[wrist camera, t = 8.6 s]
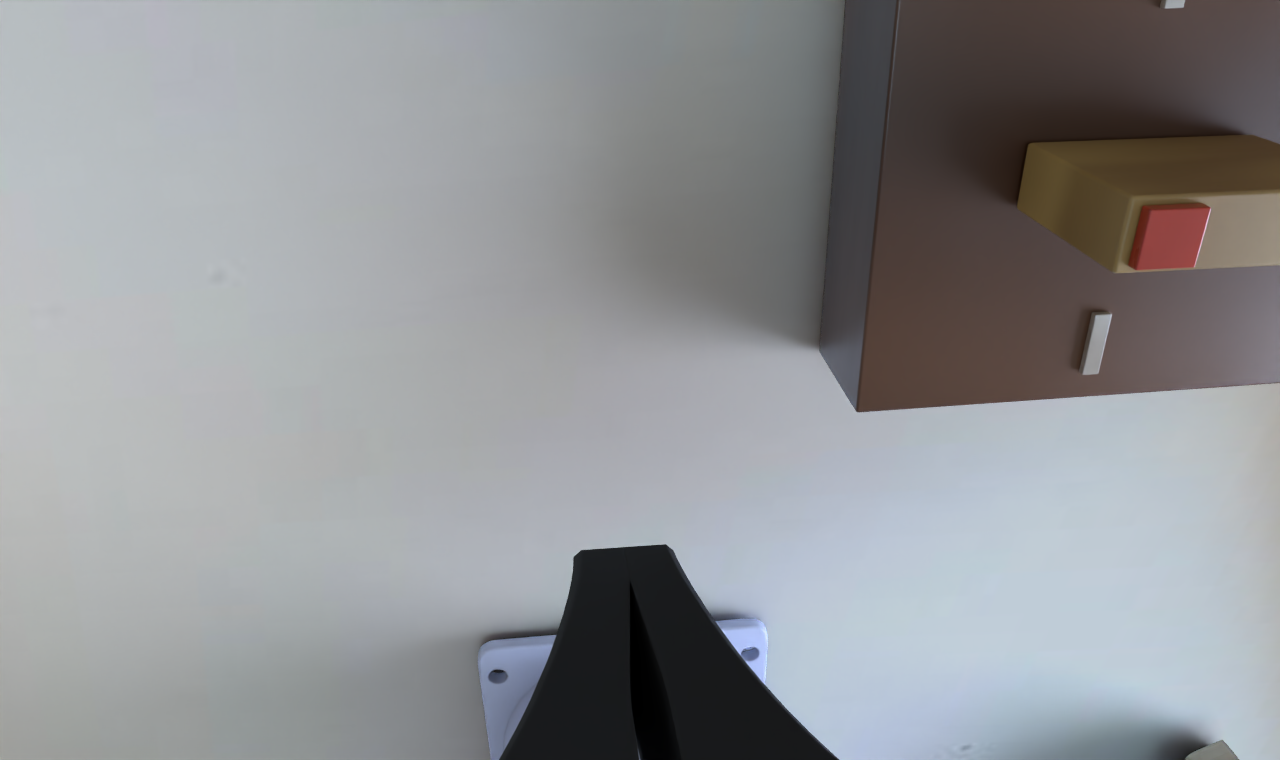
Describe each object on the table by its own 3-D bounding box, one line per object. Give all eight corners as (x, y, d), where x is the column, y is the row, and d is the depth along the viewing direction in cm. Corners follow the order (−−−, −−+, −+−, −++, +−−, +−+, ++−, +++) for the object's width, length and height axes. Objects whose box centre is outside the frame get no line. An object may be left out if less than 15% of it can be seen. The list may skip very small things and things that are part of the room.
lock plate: (1210, 327, 23) (1301, 386, 21) (818, 352, 23) (858, 417, 20) (1341, -129, 19) (1481, -130, 16) (853, -116, 18) (911, -117, 15)
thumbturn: (1252, 133, 18) (1414, 188, 15) (1233, 199, 19) (1385, 267, 15) (1026, 142, 18) (1140, 201, 14) (1015, 209, 18) (1120, 280, 15)
